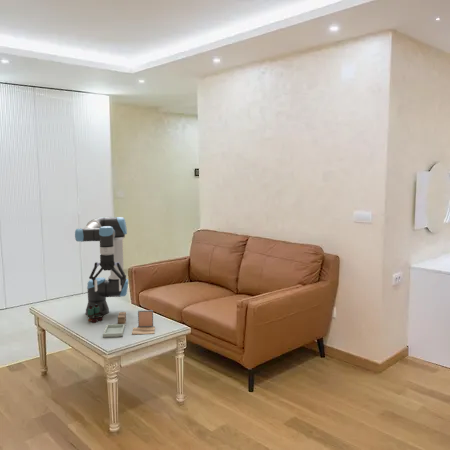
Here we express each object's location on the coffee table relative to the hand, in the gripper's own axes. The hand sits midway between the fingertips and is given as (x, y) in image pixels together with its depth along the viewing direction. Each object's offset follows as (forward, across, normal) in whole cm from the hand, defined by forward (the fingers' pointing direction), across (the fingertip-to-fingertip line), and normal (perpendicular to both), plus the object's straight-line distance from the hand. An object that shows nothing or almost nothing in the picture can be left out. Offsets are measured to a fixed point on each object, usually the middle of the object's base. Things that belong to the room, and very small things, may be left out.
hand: (108, 290), depth 249 cm
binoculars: (+28, -15, +30) cm, 43 cm away
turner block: (+28, +2, +23) cm, 36 cm away
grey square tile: (+28, +18, +18) cm, 37 cm away
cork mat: (+28, +18, +10) cm, 34 cm away
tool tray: (+28, +1, +8) cm, 29 cm away
